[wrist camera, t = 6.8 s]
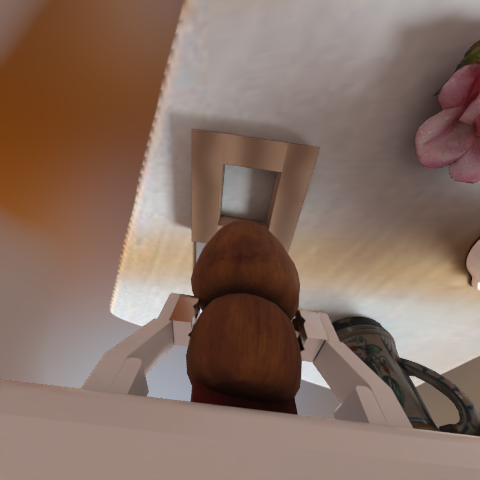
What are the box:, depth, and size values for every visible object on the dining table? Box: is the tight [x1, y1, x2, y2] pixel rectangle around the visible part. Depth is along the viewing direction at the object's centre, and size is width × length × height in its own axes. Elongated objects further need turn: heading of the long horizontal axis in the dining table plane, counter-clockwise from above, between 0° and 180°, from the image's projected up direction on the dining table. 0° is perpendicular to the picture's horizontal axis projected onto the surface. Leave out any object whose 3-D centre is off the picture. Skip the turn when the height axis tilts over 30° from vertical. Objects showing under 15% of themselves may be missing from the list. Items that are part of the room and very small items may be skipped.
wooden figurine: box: [186, 220, 302, 415], centre depth 10 cm, size 7×6×15 cm
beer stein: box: [332, 317, 480, 437], centre depth 36 cm, size 16×19×25 cm
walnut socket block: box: [192, 129, 320, 253], centre depth 29 cm, size 16×16×4 cm
